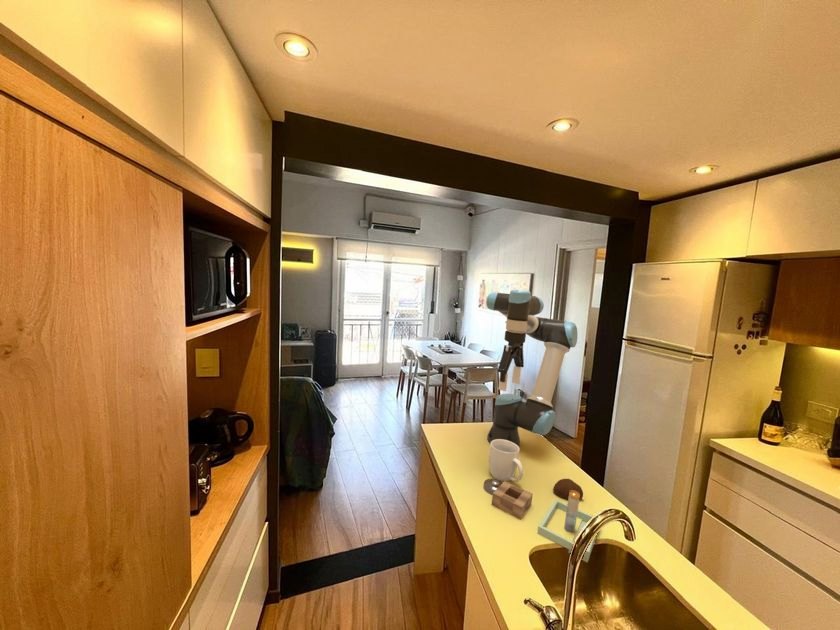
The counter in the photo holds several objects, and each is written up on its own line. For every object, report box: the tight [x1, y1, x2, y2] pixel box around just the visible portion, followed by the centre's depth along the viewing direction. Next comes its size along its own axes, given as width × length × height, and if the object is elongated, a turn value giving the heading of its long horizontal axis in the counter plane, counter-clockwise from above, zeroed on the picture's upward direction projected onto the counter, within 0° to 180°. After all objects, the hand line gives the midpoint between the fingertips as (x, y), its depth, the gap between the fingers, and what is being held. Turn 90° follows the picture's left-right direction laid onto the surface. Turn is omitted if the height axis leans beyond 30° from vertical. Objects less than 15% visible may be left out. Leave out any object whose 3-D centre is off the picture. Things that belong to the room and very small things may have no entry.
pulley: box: [483, 478, 504, 496], centre depth 121 cm, size 8×8×4 cm
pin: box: [563, 490, 581, 533], centre depth 103 cm, size 3×3×12 cm
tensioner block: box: [491, 481, 533, 520], centre depth 113 cm, size 10×10×5 cm
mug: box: [488, 439, 524, 482], centre depth 128 cm, size 15×11×13 cm
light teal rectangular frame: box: [537, 498, 598, 563], centre depth 104 cm, size 18×14×3 cm
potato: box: [552, 478, 584, 501], centre depth 121 cm, size 7×10×7 cm
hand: (509, 386), depth 127 cm, fingers open, 13 cm apart
